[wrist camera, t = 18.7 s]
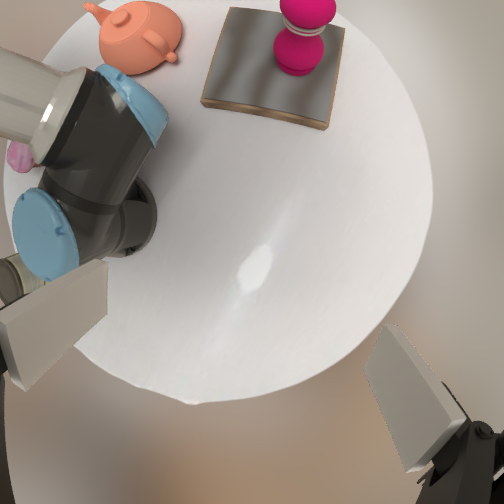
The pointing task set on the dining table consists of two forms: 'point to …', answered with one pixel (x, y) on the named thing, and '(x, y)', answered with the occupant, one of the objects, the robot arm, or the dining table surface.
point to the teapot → (137, 35)
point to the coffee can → (16, 279)
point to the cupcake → (20, 158)
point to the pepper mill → (302, 34)
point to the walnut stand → (270, 72)
